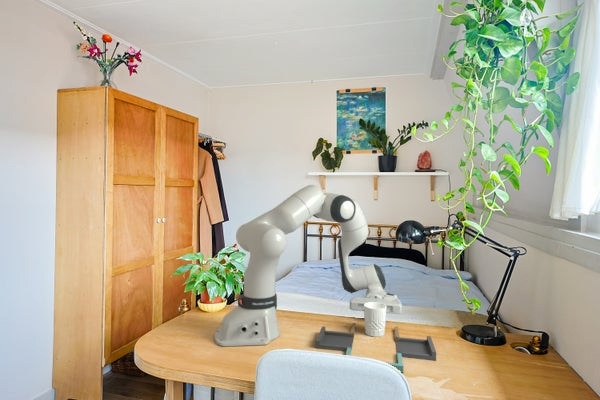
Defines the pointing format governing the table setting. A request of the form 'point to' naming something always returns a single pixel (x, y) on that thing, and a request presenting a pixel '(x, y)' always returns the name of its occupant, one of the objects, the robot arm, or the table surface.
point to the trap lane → (403, 345)
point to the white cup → (375, 318)
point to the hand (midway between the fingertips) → (375, 311)
